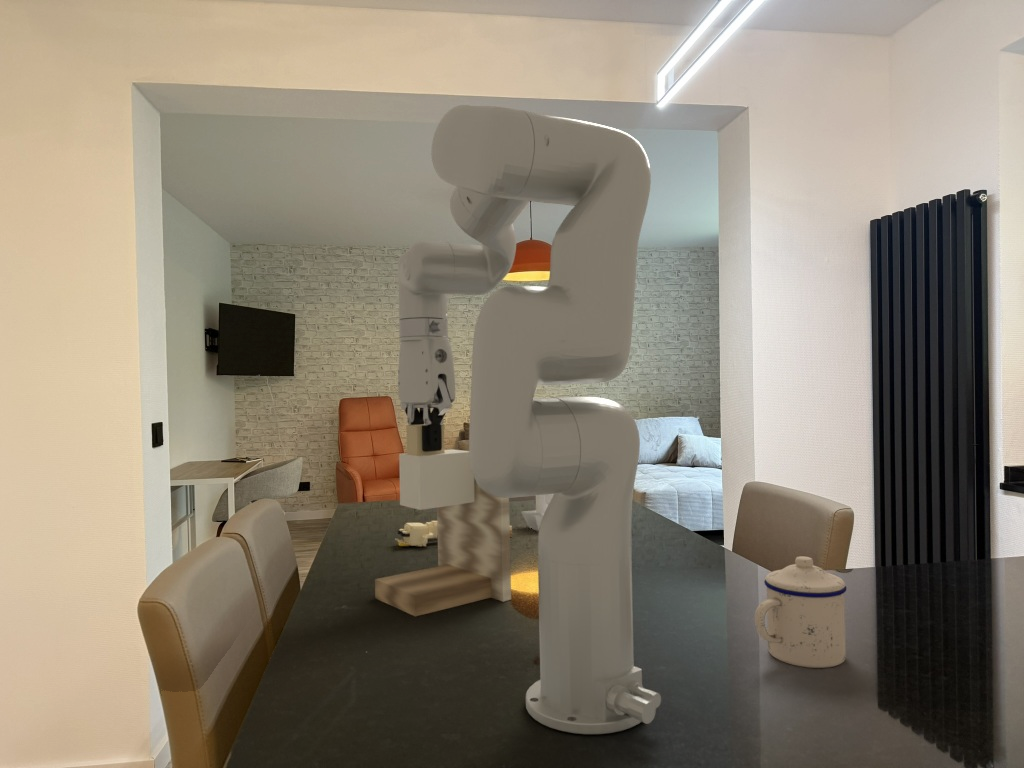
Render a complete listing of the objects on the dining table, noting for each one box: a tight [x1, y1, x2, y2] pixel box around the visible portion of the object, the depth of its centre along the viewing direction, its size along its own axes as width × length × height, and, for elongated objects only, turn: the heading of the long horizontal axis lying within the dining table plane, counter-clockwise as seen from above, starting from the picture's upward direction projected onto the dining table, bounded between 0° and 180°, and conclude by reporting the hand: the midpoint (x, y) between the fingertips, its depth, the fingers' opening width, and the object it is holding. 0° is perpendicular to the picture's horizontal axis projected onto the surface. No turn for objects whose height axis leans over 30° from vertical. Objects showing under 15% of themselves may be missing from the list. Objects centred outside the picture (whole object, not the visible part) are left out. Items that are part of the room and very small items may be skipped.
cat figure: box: [394, 520, 514, 547], centre depth 153 cm, size 10×9×25 cm
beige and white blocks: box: [398, 423, 475, 511], centre depth 113 cm, size 6×10×12 cm, turn 129°
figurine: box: [520, 494, 554, 532], centre depth 165 cm, size 7×9×15 cm
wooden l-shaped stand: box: [374, 478, 512, 617], centre depth 113 cm, size 18×15×22 cm
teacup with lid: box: [754, 556, 847, 669], centre depth 85 cm, size 12×9×12 cm
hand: (425, 449), depth 112 cm, fingers closed on beige and white blocks, 3 cm apart
